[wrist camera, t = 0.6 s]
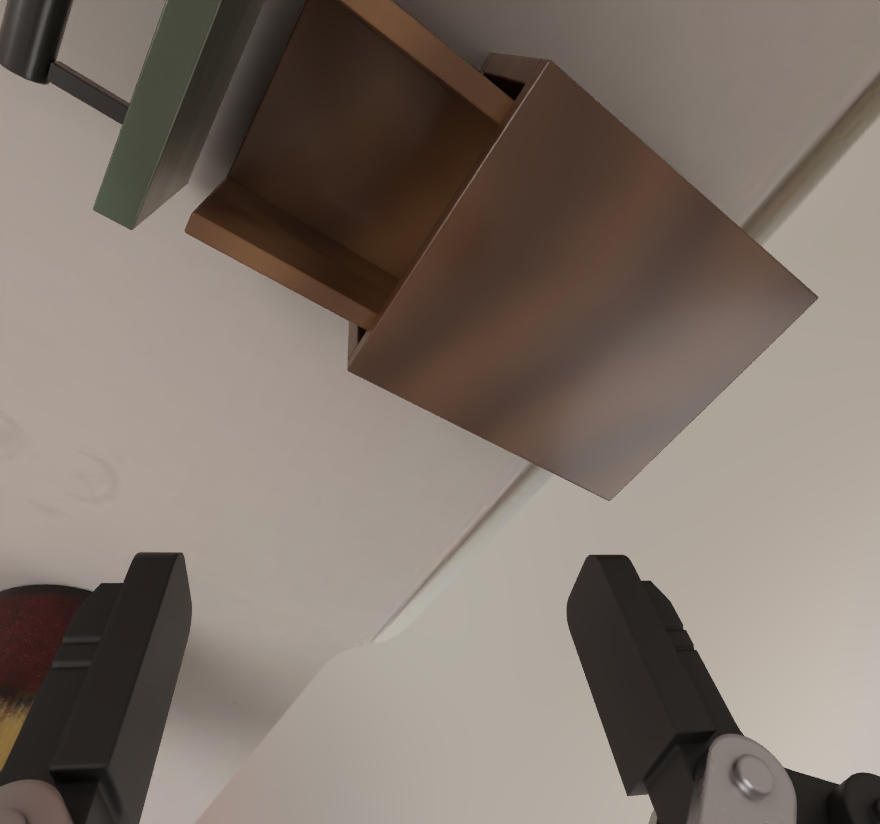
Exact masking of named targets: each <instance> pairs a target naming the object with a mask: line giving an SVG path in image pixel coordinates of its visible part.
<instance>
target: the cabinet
mask: <svg viewBox="0 0 880 824" xmlns="http://www.w3.org/2000/svg"><path fill="white" fill-rule="evenodd" d="M479 72H480V73H481V74H482V75H483V76H485V77H486V78H487V79H488V80H490V81H491V82H492V83H493V84H494V85H496V86H497V87H498V88H499V89H501V90H502V91H503V92H504V93H505V94H507V95H508V96H509V97H510V98H512V99H513V100H514V103H513V105H512V106H511V108H510V109H509V111H508V112H507V114H506V115H505V117H504V119H503V120H502V122H501V123H500V125H499V126H498V128H497V129H496V131H495V133H494V134H493V136H492V137H491V139H490V140H489V142H488V143H487V145H486V146H485V148H484V150H483V151H482V153H481V154H480V156H479V157H478V159H477V160H476V162H475V164H474V165H473V167H472V168H471V170H470V171H469V173H468V174H467V176H466V178H465V179H464V181H463V182H462V184H461V185H460V187H459V188H458V190H457V192H456V193H455V195H454V196H453V198H452V199H451V201H450V202H449V204H448V206H447V207H446V209H445V210H444V212H443V213H442V215H441V216H440V218H439V220H438V221H437V223H436V224H435V226H434V227H433V229H432V230H431V232H430V233H429V235H428V237H427V238H426V240H425V241H424V243H423V244H422V246H421V247H420V249H419V251H418V252H417V254H416V255H415V257H414V258H413V260H412V261H411V263H410V265H409V266H408V268H407V269H406V271H405V272H404V274H403V275H402V277H401V279H400V280H399V282H398V283H397V285H396V286H395V288H394V289H393V291H392V293H391V294H390V296H389V297H388V299H387V300H386V302H385V303H384V305H383V307H382V308H381V310H380V311H379V313H378V314H377V316H376V317H375V319H374V320H373V322H372V324H371V325H370V327H369V328H368V330H365V329H363V328H361V327H360V326H358V325H356V324H354V323H352V322H350V321H349V340H348V369H347V370H348V371H349V372H351V373H353V374H355V375H357V376H359V377H361V378H363V379H365V380H367V381H369V382H371V383H373V384H375V385H377V386H379V387H381V388H383V389H385V390H387V391H389V392H391V393H393V394H395V395H397V396H399V397H401V398H403V399H405V400H407V401H409V402H411V403H413V404H415V405H417V406H419V407H421V408H423V409H425V410H427V411H429V412H431V413H433V414H435V415H437V416H439V417H441V418H443V419H445V420H447V421H449V422H451V423H453V424H455V425H457V426H459V427H461V428H463V429H465V430H467V431H469V432H471V433H473V434H475V435H477V436H479V437H481V438H483V439H485V440H487V441H489V442H492V443H494V444H496V445H498V446H500V447H502V448H504V449H506V450H508V451H510V452H512V453H514V454H516V455H518V456H520V457H522V458H524V459H526V460H528V461H530V462H532V463H534V464H536V465H538V466H540V467H542V468H544V469H546V470H548V471H550V472H552V473H554V474H556V475H558V476H560V477H562V478H564V479H566V480H568V481H570V482H572V483H574V484H576V485H578V486H580V487H582V488H584V489H586V490H588V491H590V492H592V493H594V494H596V495H598V496H600V497H602V498H604V499H606V500H608V501H610V500H611V499H612V498H613V497H614V496H615V495H617V493H619V492H620V491H621V490H622V489H623V488H624V487H625V486H626V485H627V484H628V483H629V482H630V481H631V480H632V479H633V478H634V477H635V476H636V475H637V474H638V473H639V472H640V471H641V470H642V469H643V468H644V467H645V466H646V465H647V464H648V463H649V462H650V461H651V460H653V459H654V458H655V457H656V456H657V455H658V454H659V453H660V452H661V451H662V450H663V449H664V448H665V447H666V446H667V445H668V444H669V443H670V442H671V441H672V440H673V439H674V438H675V437H676V436H677V435H678V434H679V433H680V432H681V431H682V430H683V429H684V428H685V427H686V426H687V425H688V424H689V423H691V421H693V420H694V419H695V418H696V417H697V416H698V415H699V414H700V413H701V412H702V411H703V410H704V409H705V408H706V407H707V406H708V405H709V404H710V403H711V402H712V401H713V400H714V399H715V398H716V397H717V396H718V395H719V394H720V393H721V392H722V391H723V390H725V388H727V387H728V385H730V384H731V383H732V382H733V381H734V380H735V379H736V378H737V377H738V376H739V375H740V374H741V373H742V372H743V371H744V370H745V369H746V368H747V367H748V366H749V365H750V364H751V363H752V362H753V361H754V360H755V359H756V358H757V357H758V356H759V355H760V354H761V353H762V352H763V351H765V350H766V349H767V348H768V347H769V346H770V345H771V344H772V343H773V342H774V341H775V340H776V339H777V338H778V337H779V336H780V335H781V334H782V333H783V332H784V331H785V330H786V329H787V328H788V327H789V326H790V325H791V324H792V323H793V322H794V321H795V320H796V319H798V318H799V317H800V316H801V315H802V314H803V313H804V312H805V311H806V310H807V309H808V308H809V307H810V306H811V305H812V304H813V303H814V302H815V301H816V300H817V299H818V296H817V295H815V294H814V293H813V292H812V291H811V290H810V289H809V288H808V287H806V286H805V285H804V284H803V283H802V282H801V281H800V280H799V279H797V278H796V277H795V276H794V275H793V274H792V273H791V272H789V271H788V270H787V269H786V268H785V267H784V266H783V265H782V264H780V263H779V262H778V261H777V260H776V259H775V258H774V257H773V256H772V255H770V254H769V253H768V252H767V251H766V250H765V249H764V248H763V247H761V246H760V245H759V244H758V243H757V242H756V241H755V240H753V239H752V238H751V237H750V236H749V235H748V234H747V233H746V232H744V231H743V230H742V229H741V228H740V227H739V226H738V225H737V224H735V223H734V222H733V221H732V220H731V219H730V218H729V217H727V216H726V215H725V214H724V213H723V212H722V211H721V210H720V209H718V208H717V207H716V206H715V205H714V204H713V203H712V202H711V201H709V200H708V199H707V198H706V197H705V196H704V195H703V194H702V193H700V192H699V191H698V190H697V189H696V188H695V187H694V186H692V185H691V184H690V183H689V182H688V181H687V180H686V179H685V178H683V177H682V176H681V175H680V174H679V173H678V172H677V171H676V170H674V169H673V168H672V167H671V166H670V165H669V164H668V163H666V162H665V161H664V160H663V159H662V158H661V157H660V156H659V155H657V154H656V153H655V152H654V151H653V150H652V149H651V148H650V147H648V146H647V145H646V144H645V143H644V142H643V141H642V140H641V139H639V138H638V137H637V136H636V135H635V134H634V133H633V132H631V131H630V130H629V129H628V128H627V127H626V126H625V125H624V124H622V123H621V122H620V121H619V120H618V119H617V118H616V117H615V116H613V115H612V114H611V113H610V112H609V111H608V110H607V109H605V108H604V107H603V106H602V105H601V104H600V103H599V102H598V101H596V100H595V99H594V98H593V97H592V96H591V95H590V94H589V93H587V92H586V91H585V90H584V89H583V88H582V87H581V86H580V85H578V84H577V83H576V82H575V81H574V80H573V79H572V78H570V77H569V76H568V75H567V74H566V73H565V72H564V71H563V70H561V69H560V68H559V67H558V66H557V65H556V64H555V63H554V62H552V61H551V60H547V59H540V58H531V57H522V56H513V55H504V54H495V53H490V55H489V56H488V58H487V60H486V61H485V63H484V65H483V66H482V68H481V70H480V71H479Z"/></svg>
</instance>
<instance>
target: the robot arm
mask: <svg viewBox="0 0 880 824" xmlns="http://www.w3.org/2000/svg"><path fill="white" fill-rule="evenodd" d="M191 616H192V602H191V596H190V589H189V583H188V577H187V571H186V565H185V559H184V555H183V553H160V552H140V553H137V554H136V555H135V557H134V558H133V560H132V563H131V565H130V567H129V570H128V572H127V575H126V577H125V580H124V582H123V583H101V584H100V585H99V586H98V587H97V588H96V589H95V590H94V591H93V592H92V593H91V595H90V596H89V597H88V598H87V599H86V600H85V601H84V602H83V603H82V604H81V605H80V606H79V607H78V608H77V609H76V611H75V613H74V616H73V618H72V620H71V622H70V624H69V626H68V628H67V631H66V633H65V635H64V637H63V643H62V644H61V645H60V646H59V648H58V650H57V652H56V654H55V657H54V659H53V661H52V663H51V664H52V665H51V669H50V670H48V672H47V674H46V676H45V678H44V680H43V682H42V685H41V687H40V689H39V691H38V693H37V695H36V697H35V700H34V702H33V704H32V706H31V708H30V710H29V713H28V715H27V717H26V719H25V721H24V723H23V726H22V728H21V730H20V732H19V734H18V736H17V738H16V741H15V743H14V745H13V747H12V749H11V751H10V754H9V756H8V758H7V760H6V762H5V764H4V766H3V768H2V770H1V772H0V824H139V822H140V818H141V814H142V810H143V807H144V803H145V799H146V795H147V791H148V788H149V784H150V780H151V776H152V772H153V769H154V765H155V761H156V757H157V754H158V750H159V746H160V742H161V738H162V735H163V731H164V727H165V723H166V720H167V716H168V712H169V708H170V704H171V701H172V697H173V693H174V689H175V685H176V682H177V678H178V674H179V670H180V667H181V663H182V659H183V655H184V651H185V648H186V644H187V640H188V636H189V631H190V625H191ZM567 621H568V626H569V630H570V633H571V636H572V638H573V641H574V644H575V647H576V650H577V653H578V656H579V658H580V661H581V664H582V667H583V670H584V673H585V676H586V679H587V681H588V684H589V687H590V690H591V693H592V696H593V699H594V702H595V704H596V707H597V710H598V713H599V716H600V719H601V721H602V724H603V727H604V730H605V733H606V736H607V739H608V742H609V745H610V747H611V750H612V753H613V756H614V759H615V762H616V764H617V767H618V770H619V773H620V776H621V779H622V782H623V784H624V787H625V790H626V793H627V796H634V795H645V794H649V797H650V799H651V802H652V805H653V807H654V811H653V812H652V814H651V818H650V821H649V824H880V777H879V776H877V775H873V774H870V773H856V774H854V775H852V776H850V777H849V778H848V779H847V780H845V781H844V782H843V783H842V784H840V785H839V784H835V783H832V782H828V781H825V780H822V779H819V778H815V777H812V776H809V775H805V774H802V773H799V772H795V771H792V770H789V769H787V768H784V767H783V766H782V765H781V764H780V762H779V761H778V760H777V759H776V758H775V757H774V756H773V755H772V754H771V753H770V752H769V751H768V750H767V749H766V748H764V747H763V746H762V745H760V744H759V743H757V742H756V741H754V740H752V739H750V738H748V737H745V736H744V735H743V734H742V732H741V731H740V730H739V728H738V726H737V724H736V723H735V721H734V719H733V717H732V715H731V714H730V712H729V710H728V708H727V706H726V704H725V702H724V701H723V699H722V697H721V695H720V693H719V691H718V689H717V687H716V686H715V684H714V682H713V680H712V678H711V676H710V674H709V673H708V671H707V669H706V667H705V665H704V663H703V662H702V660H701V658H700V656H699V654H698V652H697V651H696V650H694V647H693V646H694V645H693V643H692V641H691V639H690V637H689V635H688V633H687V631H686V630H684V629H683V624H682V622H681V620H680V618H679V617H678V615H677V613H676V611H675V609H674V607H673V605H672V604H671V602H670V601H669V600H668V599H667V598H666V596H665V595H664V594H663V593H662V592H661V591H660V590H659V589H658V588H657V587H656V586H655V585H654V584H653V583H652V582H651V581H641V580H640V578H639V576H638V574H637V573H636V570H635V568H634V566H633V564H632V562H631V561H630V559H629V558H628V557H627V556H625V555H589V556H588V557H587V558H586V560H585V562H584V564H583V566H582V568H581V571H580V573H579V575H578V578H577V580H576V582H575V584H574V587H573V589H572V591H571V594H570V596H569V598H568V602H567Z"/></svg>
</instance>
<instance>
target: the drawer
mask: <svg viewBox="0 0 880 824" xmlns="http://www.w3.org/2000/svg"><path fill="white" fill-rule="evenodd" d="M72 3H73V0H7V4H6V8H5V13H4V17H3V21H2V25H1V29H0V64H1V65H2V66H4V67H5V68H6V69H8V70H10V71H11V72H13V73H15V74H17V75H19V76H21V77H23V78H25V79H27V80H30V81H32V82H36V83H39V84H45V85H46V84H49V83H50V82H51V83H52V84H54V85H56V86H57V87H59V88H61V89H62V90H64V91H66V92H68V93H69V94H71V95H73V96H74V97H76V98H78V99H79V100H81V101H83V102H85V103H86V104H88V105H90V106H91V107H93V108H95V109H96V110H98V111H100V112H102V113H103V114H105V115H107V116H108V117H110V118H112V119H113V120H115V121H117V122H119V123H120V124H122V127H121V130H120V133H119V136H118V139H117V142H116V144H115V147H114V150H113V153H112V156H111V159H110V161H109V164H108V167H107V170H106V173H105V176H104V179H103V181H102V184H101V187H100V190H99V193H98V196H97V198H96V201H95V204H94V207H93V210H94V211H96V212H98V213H100V214H102V215H103V216H105V217H107V218H109V219H111V220H113V221H115V222H117V223H119V224H121V225H123V226H125V227H127V228H128V229H130V230H133V229H134V228H135V227H136V226H137V225H139V224H140V223H141V222H142V221H143V220H145V219H146V218H147V217H148V216H149V215H151V214H152V213H153V212H154V211H155V210H157V209H158V208H159V207H160V206H161V205H163V204H164V203H165V202H166V201H167V200H168V199H170V198H171V197H172V196H173V195H174V194H176V193H177V192H178V191H179V190H180V189H182V188H183V187H184V186H185V185H186V184H187V183H188V181H189V178H190V176H191V174H192V171H193V169H194V166H195V164H196V162H197V159H198V157H199V155H200V152H201V150H202V148H203V145H204V143H205V140H206V138H207V136H208V133H209V131H210V129H211V126H212V124H213V121H214V119H215V117H216V114H217V112H218V110H219V107H220V105H221V102H222V100H223V98H224V95H225V93H226V91H227V88H228V86H229V83H230V81H231V79H232V76H233V74H234V72H235V69H236V67H237V64H238V62H239V60H240V57H241V55H242V53H243V50H244V48H245V45H246V43H247V41H248V38H249V36H250V34H251V31H252V29H253V26H254V24H255V22H256V19H257V17H258V15H259V12H260V10H261V7H262V5H263V3H264V0H166V2H165V5H164V8H163V11H162V14H161V17H160V19H159V22H158V25H157V28H156V31H155V34H154V36H153V39H152V42H151V45H150V48H149V51H148V54H147V56H146V59H145V62H144V65H143V68H142V71H141V73H140V76H139V79H138V82H137V85H136V88H135V90H134V93H133V96H132V99H131V102H130V103H128V102H126V101H125V100H123V99H121V98H120V97H118V96H116V95H115V94H113V93H111V92H110V91H108V90H106V89H105V88H103V87H101V86H100V85H98V84H96V83H95V82H93V81H92V80H90V79H88V78H87V77H85V76H83V75H82V74H80V73H78V72H77V71H75V70H73V69H72V68H70V67H68V66H67V65H65V64H63V63H62V62H59V61H56V59H57V56H58V52H59V49H60V45H61V42H62V38H63V35H64V31H65V28H66V24H67V21H68V17H69V14H70V10H71V7H72ZM513 103H514V100H513V99H512V98H510V97H509V96H508V95H507V94H505V93H504V92H503V91H502V90H501V89H499V88H498V87H497V86H496V85H494V84H493V83H492V82H491V81H490V80H488V79H487V78H486V77H485V76H483V75H482V74H481V73H480V72H479V71H477V70H476V69H475V68H474V67H472V66H471V65H470V64H469V63H468V62H466V61H465V60H464V59H463V58H461V57H460V56H459V55H458V54H457V53H455V52H454V51H453V50H452V49H450V48H449V47H448V46H447V45H446V44H444V43H443V42H442V41H441V40H439V39H438V38H437V37H436V36H435V35H433V34H432V33H431V32H430V31H428V30H427V29H426V28H425V27H424V26H422V25H421V24H420V23H419V22H417V21H416V20H415V19H414V18H413V17H411V16H410V15H409V14H408V13H407V12H405V11H404V10H403V9H402V8H400V7H399V6H398V5H397V4H396V3H394V2H393V1H392V0H306V2H305V4H304V6H303V8H302V10H301V13H300V15H299V17H298V19H297V22H296V24H295V26H294V28H293V30H292V33H291V35H290V37H289V39H288V42H287V44H286V46H285V48H284V50H283V53H282V55H281V57H280V59H279V62H278V64H277V66H276V68H275V70H274V73H273V75H272V77H271V79H270V81H269V84H268V86H267V88H266V90H265V93H264V95H263V97H262V99H261V101H260V104H259V106H258V108H257V110H256V113H255V115H254V117H253V119H252V121H251V124H250V126H249V128H248V130H247V133H246V135H245V137H244V139H243V141H242V144H241V146H240V148H239V150H238V152H237V155H236V157H235V159H234V161H233V164H232V166H231V168H230V170H229V172H228V175H227V177H226V178H225V179H224V180H223V181H222V183H221V184H220V185H219V186H218V187H217V188H216V189H215V190H214V191H213V192H212V193H211V194H210V195H209V196H208V197H207V198H206V199H205V200H204V201H203V202H202V203H201V204H200V205H199V206H198V207H197V208H196V209H195V211H194V212H193V213H192V214H191V217H190V219H189V221H188V223H187V226H186V228H185V232H186V233H187V234H189V235H191V236H192V237H194V238H196V239H198V240H200V241H202V242H204V243H205V244H207V245H209V246H211V247H213V248H215V249H217V250H218V251H220V252H222V253H224V254H226V255H228V256H230V257H231V258H233V259H235V260H237V261H239V262H241V263H243V264H244V265H246V266H248V267H250V268H252V269H254V270H256V271H257V272H259V273H261V274H263V275H265V276H267V277H269V278H270V279H272V280H274V281H276V282H278V283H280V284H282V285H283V286H285V287H287V288H289V289H291V290H293V291H295V292H296V293H298V294H300V295H302V296H304V297H306V298H308V299H309V300H311V301H313V302H315V303H317V304H319V305H321V306H322V307H324V308H326V309H328V310H330V311H332V312H334V313H335V314H337V315H339V316H341V317H343V318H345V319H347V320H348V321H350V322H352V323H354V324H356V325H358V326H360V327H361V328H363V329H365V330H368V328H369V327H370V325H371V324H372V322H373V320H374V319H375V317H376V316H377V314H378V313H379V311H380V310H381V308H382V307H383V305H384V303H385V302H386V300H387V299H388V297H389V296H390V294H391V293H392V291H393V289H394V288H395V286H396V285H397V283H398V282H399V280H400V279H401V277H402V275H403V274H404V272H405V271H406V269H407V268H408V266H409V265H410V263H411V261H412V260H413V258H414V257H415V255H416V254H417V252H418V251H419V249H420V247H421V246H422V244H423V243H424V241H425V240H426V238H427V237H428V235H429V233H430V232H431V230H432V229H433V227H434V226H435V224H436V223H437V221H438V220H439V218H440V216H441V215H442V213H443V212H444V210H445V209H446V207H447V206H448V204H449V202H450V201H451V199H452V198H453V196H454V195H455V193H456V192H457V190H458V188H459V187H460V185H461V184H462V182H463V181H464V179H465V178H466V176H467V174H468V173H469V171H470V170H471V168H472V167H473V165H474V164H475V162H476V160H477V159H478V157H479V156H480V154H481V153H482V151H483V150H484V148H485V146H486V145H487V143H488V142H489V140H490V139H491V137H492V136H493V134H494V133H495V131H496V129H497V128H498V126H499V125H500V123H501V122H502V120H503V119H504V117H505V115H506V114H507V112H508V111H509V109H510V108H511V106H512V105H513Z"/></svg>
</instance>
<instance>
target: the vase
mask: <svg viewBox="0 0 880 824" xmlns="http://www.w3.org/2000/svg"><path fill="white" fill-rule="evenodd" d="M90 595H91V593H90V592H87V591H84V590H79V589H75V588H70V587H63V586H55V585H31V586H22V587H16V588H11V589H8V590H4V591H1V592H0V772H1V770H2V768H3V766H4V764H5V762H6V760H7V758H8V756H9V754H10V751H11V749H12V747H13V745H14V743H15V741H16V738H17V736H18V734H19V732H20V730H21V728H22V726H23V723H24V721H25V719H26V717H27V715H28V713H29V710H30V708H31V706H32V704H33V702H34V700H35V697H36V695H37V693H38V691H39V689H40V687H41V685H42V682H43V680H44V678H45V676H46V674H47V672H48V670H50V669H51V665H52V664H51V663H52V661H53V659H54V657H55V654H56V652H57V650H58V648H59V646H60V645H61V644H62V643H63V637H64V635H65V633H66V631H67V628H68V626H69V624H70V622H71V620H72V618H73V616H74V613H75V611H76V609H77V608H78V607H79V606H80V605H81V604H82V603H83V602H84V601H85V600H86V599H87V598H88V597H89V596H90Z"/></svg>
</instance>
